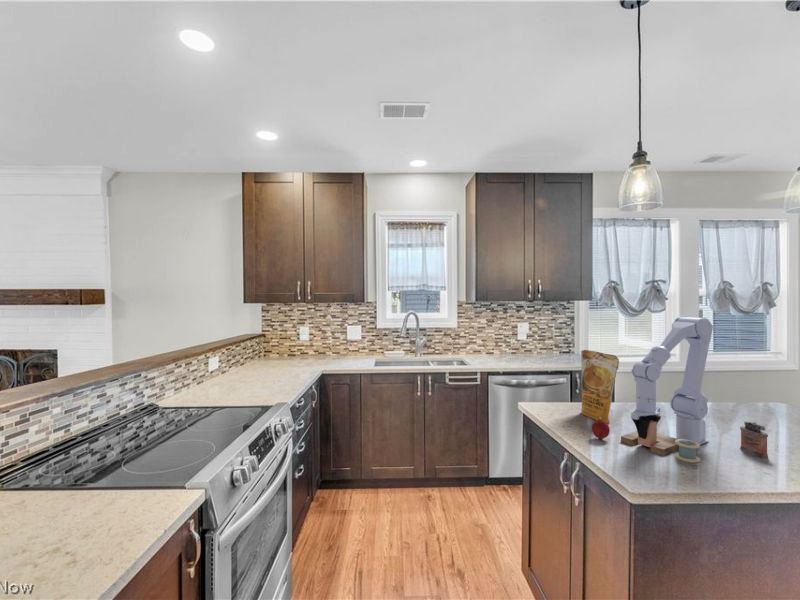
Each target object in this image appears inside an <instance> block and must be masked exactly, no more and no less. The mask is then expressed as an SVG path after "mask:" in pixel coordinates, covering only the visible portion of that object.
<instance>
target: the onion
mask: <svg viewBox="0 0 800 600" xmlns="http://www.w3.org/2000/svg"><path fill="white" fill-rule="evenodd" d="M610 431H611V429H610V426H609V423H606V422H605V421H603V420H602V418H601V417H599V419H598V420H597V421H596V420H594V422H593V423H592V425H591V432H592V434H593V435H594V436H595V437H596V438H597V439H598V440H604V439H605V438H607V437H608V436H609V434H610Z"/></svg>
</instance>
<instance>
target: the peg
mask: <svg viewBox="0 0 800 600" xmlns="http://www.w3.org/2000/svg"><path fill="white" fill-rule="evenodd" d="M657 427H658V423H657V422H655V421H652V420H651V422H650V424H649V426H648V431H647V437H646V439H643V438H640V437H639V435H638V444H637V445H643V446H644V447H647V448H651V445H653V444H656V443H657V433H658V432H657V430H658V428H657Z"/></svg>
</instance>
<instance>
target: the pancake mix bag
mask: <svg viewBox="0 0 800 600" xmlns="http://www.w3.org/2000/svg"><path fill="white" fill-rule="evenodd" d="M580 353H581V373H580V374H581V379H580V380H581V382H580V383H581V399H582V400H581V410H580V411H581V415H583V416H585V417H588V418H589V419H591V420H594V421H597V420H598V419H599V417H601V418H602V420H603V421H605V422H606V423H607V424H610V419H609V416H610V415H609V413H610V409H611V405H612V397H613V392H614V388H615V384H616V383H615V382H616V375H617V371H618V368H619V365H620V364H619V362H620V361H619V358H618V357H617V356H616V355H614V354H608V353H603V352H599V351H595V350H589V349H588V350H587V349H582V350H581V351H580Z"/></svg>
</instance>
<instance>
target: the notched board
mask: <svg viewBox="0 0 800 600" xmlns="http://www.w3.org/2000/svg"><path fill="white" fill-rule="evenodd" d="M673 437H674V436H672V437H671V436H670V435H669V436H668V435H665V434H662V433H658V432H657V443H656V444H653V445H651V447H650V452H652V453H655V454H658V455H660V456H667V455H668V454H671V453H674V452H676V451H679V445H677V444H675V440H677V439H676V438H673ZM620 442H621V443H623V442H624V444H627V445H630V446H635V445H639V444H638V432H637V430H635V431H633V432H629V433H627V434H623V435H621V436H620Z"/></svg>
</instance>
